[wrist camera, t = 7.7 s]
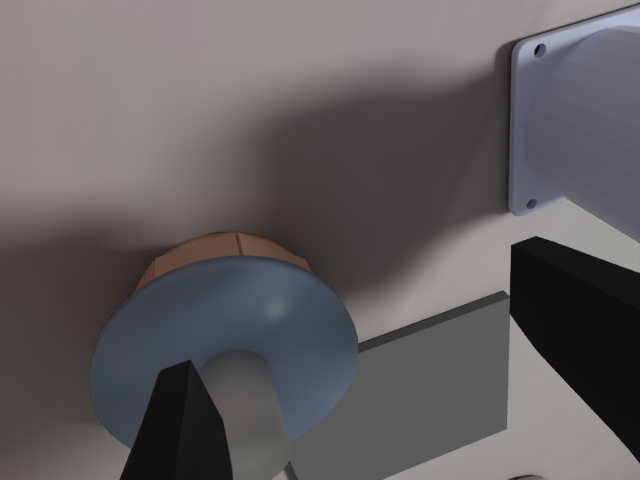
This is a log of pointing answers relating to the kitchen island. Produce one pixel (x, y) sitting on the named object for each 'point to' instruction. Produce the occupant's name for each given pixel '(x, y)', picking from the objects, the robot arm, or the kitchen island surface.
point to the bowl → (218, 252)
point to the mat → (415, 396)
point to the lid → (231, 353)
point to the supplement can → (532, 478)
